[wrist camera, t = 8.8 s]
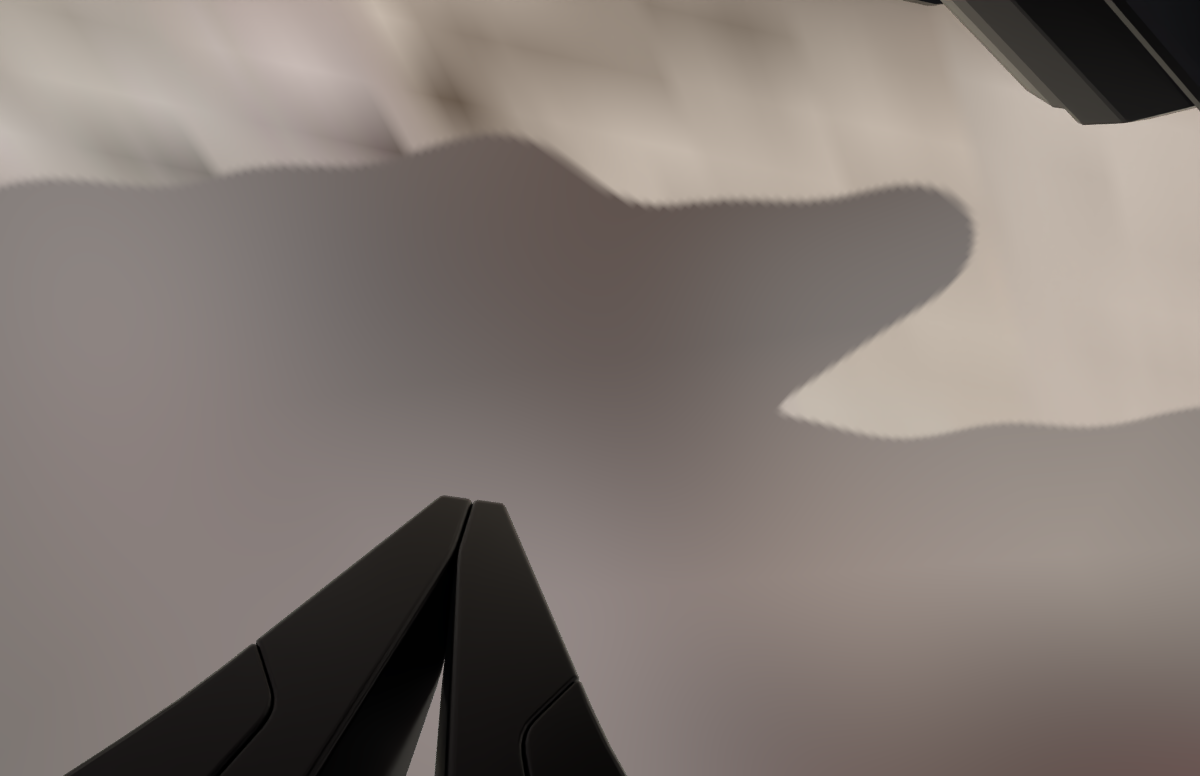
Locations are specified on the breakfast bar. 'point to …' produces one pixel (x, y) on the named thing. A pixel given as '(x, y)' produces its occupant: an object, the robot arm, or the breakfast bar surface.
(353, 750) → the robot arm
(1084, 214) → the breakfast bar surface
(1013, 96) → the breakfast bar surface
